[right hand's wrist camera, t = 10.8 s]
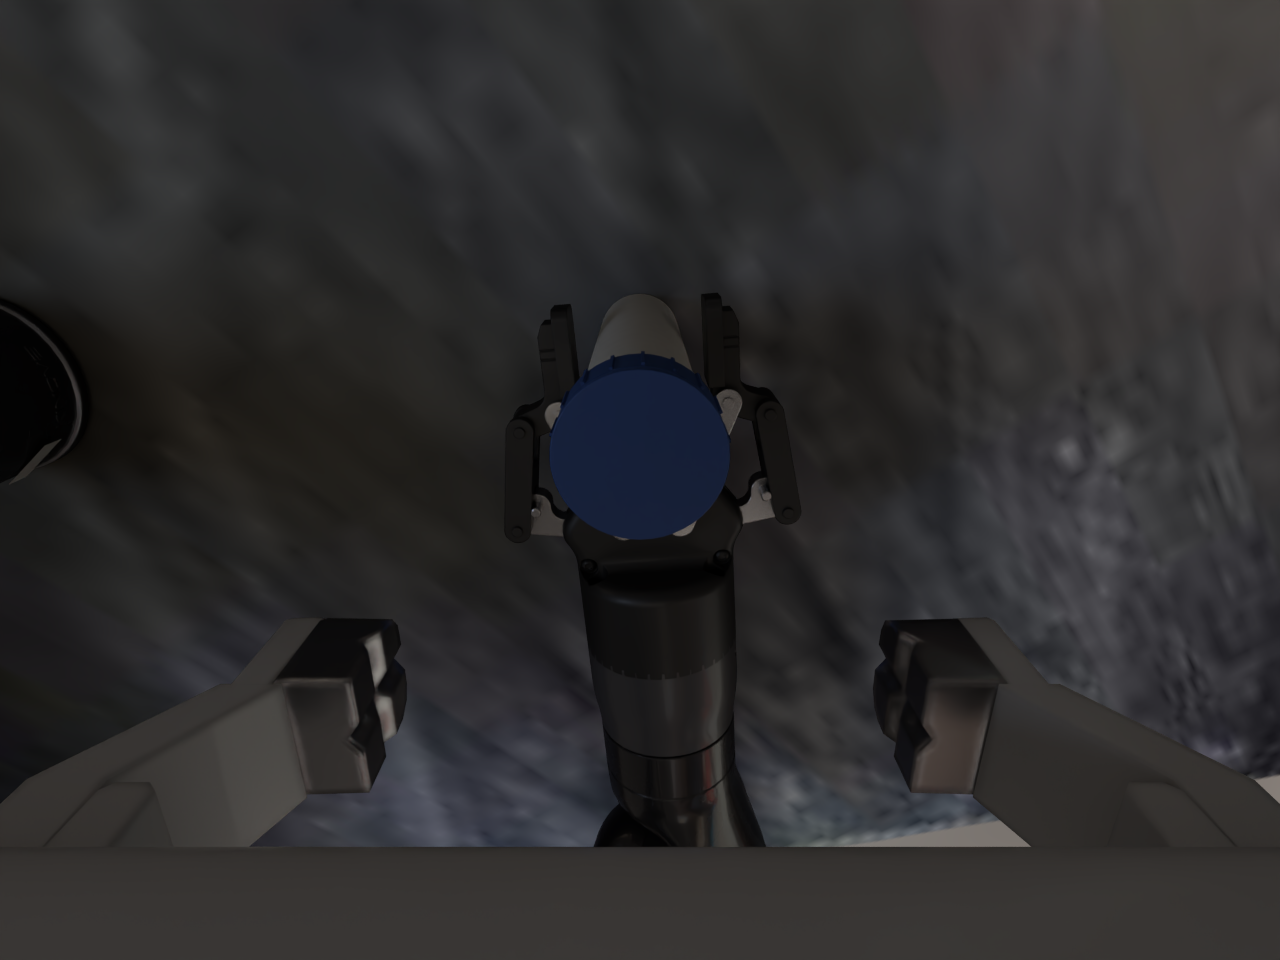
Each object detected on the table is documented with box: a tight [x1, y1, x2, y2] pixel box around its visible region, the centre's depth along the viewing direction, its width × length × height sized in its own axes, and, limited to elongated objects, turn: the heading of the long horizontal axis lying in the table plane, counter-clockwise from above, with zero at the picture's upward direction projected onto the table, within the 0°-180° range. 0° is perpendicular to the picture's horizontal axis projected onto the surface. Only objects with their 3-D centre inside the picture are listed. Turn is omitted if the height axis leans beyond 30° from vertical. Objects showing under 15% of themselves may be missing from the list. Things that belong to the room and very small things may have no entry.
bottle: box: [588, 294, 692, 371], centre depth 28 cm, size 4×4×19 cm
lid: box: [549, 351, 731, 540], centre depth 20 cm, size 5×5×2 cm
